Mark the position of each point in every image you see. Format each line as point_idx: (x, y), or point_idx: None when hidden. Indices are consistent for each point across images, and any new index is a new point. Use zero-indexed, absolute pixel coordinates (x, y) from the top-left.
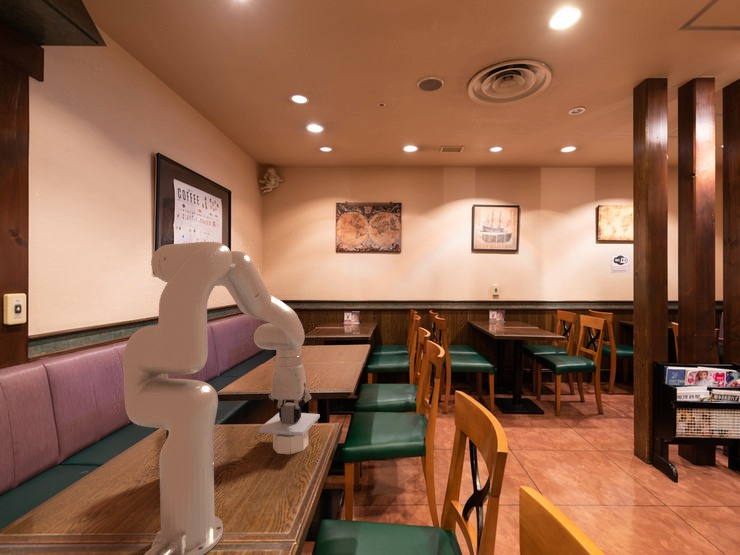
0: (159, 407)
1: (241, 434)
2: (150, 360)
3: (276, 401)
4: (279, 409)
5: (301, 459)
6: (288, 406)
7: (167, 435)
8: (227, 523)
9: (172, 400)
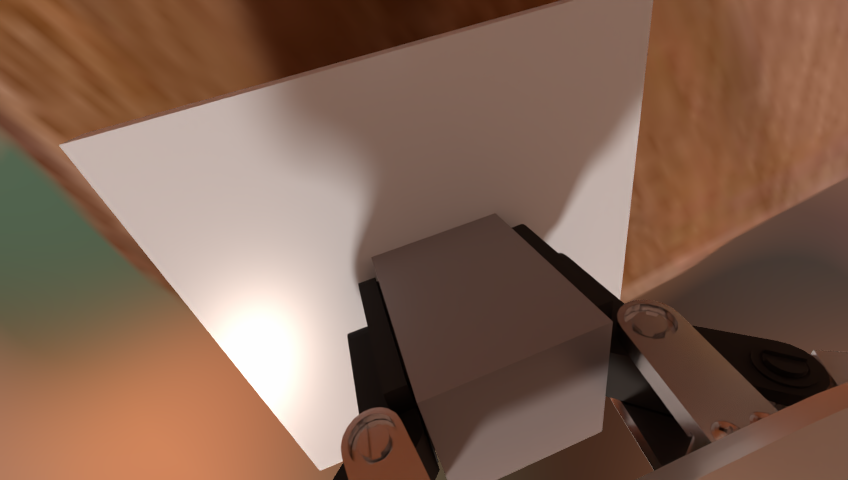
0: None
1: (705, 168)
2: None
3: (753, 363)
4: (614, 301)
5: (183, 84)
6: (518, 385)
7: None
8: None
9: None
